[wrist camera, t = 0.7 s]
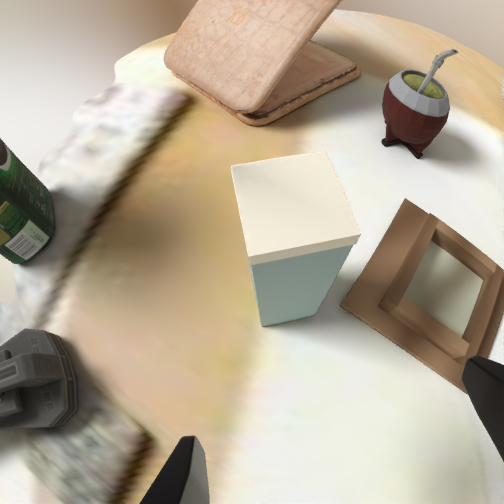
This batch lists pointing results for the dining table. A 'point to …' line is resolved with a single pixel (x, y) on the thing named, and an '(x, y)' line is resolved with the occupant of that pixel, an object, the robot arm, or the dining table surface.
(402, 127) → the mate gourd
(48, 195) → the coffee jar
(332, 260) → the pale blue rectangular block
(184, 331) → the dining table surface
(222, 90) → the case
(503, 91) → the cereal bowl
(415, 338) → the picture frame
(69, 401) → the zipper pull
